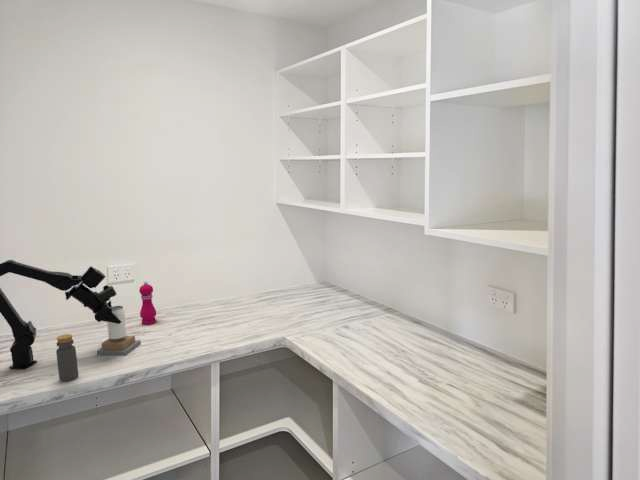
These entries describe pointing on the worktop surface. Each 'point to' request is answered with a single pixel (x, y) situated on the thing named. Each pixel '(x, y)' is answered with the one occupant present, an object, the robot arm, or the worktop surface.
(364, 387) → the worktop surface
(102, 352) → the plinth
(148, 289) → the pepper mill
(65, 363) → the bottle
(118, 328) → the can
